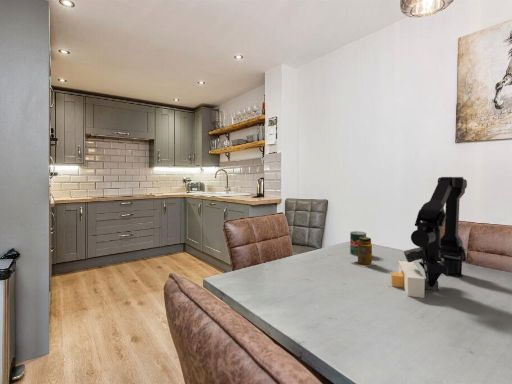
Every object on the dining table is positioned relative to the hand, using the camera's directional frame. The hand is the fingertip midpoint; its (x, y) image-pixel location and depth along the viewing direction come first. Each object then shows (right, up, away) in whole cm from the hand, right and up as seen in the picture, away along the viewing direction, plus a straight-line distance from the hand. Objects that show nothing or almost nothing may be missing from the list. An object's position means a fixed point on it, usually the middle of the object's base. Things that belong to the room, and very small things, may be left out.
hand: (430, 285), depth 104 cm
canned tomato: (-9, +1, +47) cm, 48 cm away
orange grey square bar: (-5, -1, +2) cm, 5 cm away
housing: (-6, -1, +2) cm, 6 cm away
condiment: (-13, 0, +30) cm, 33 cm away
